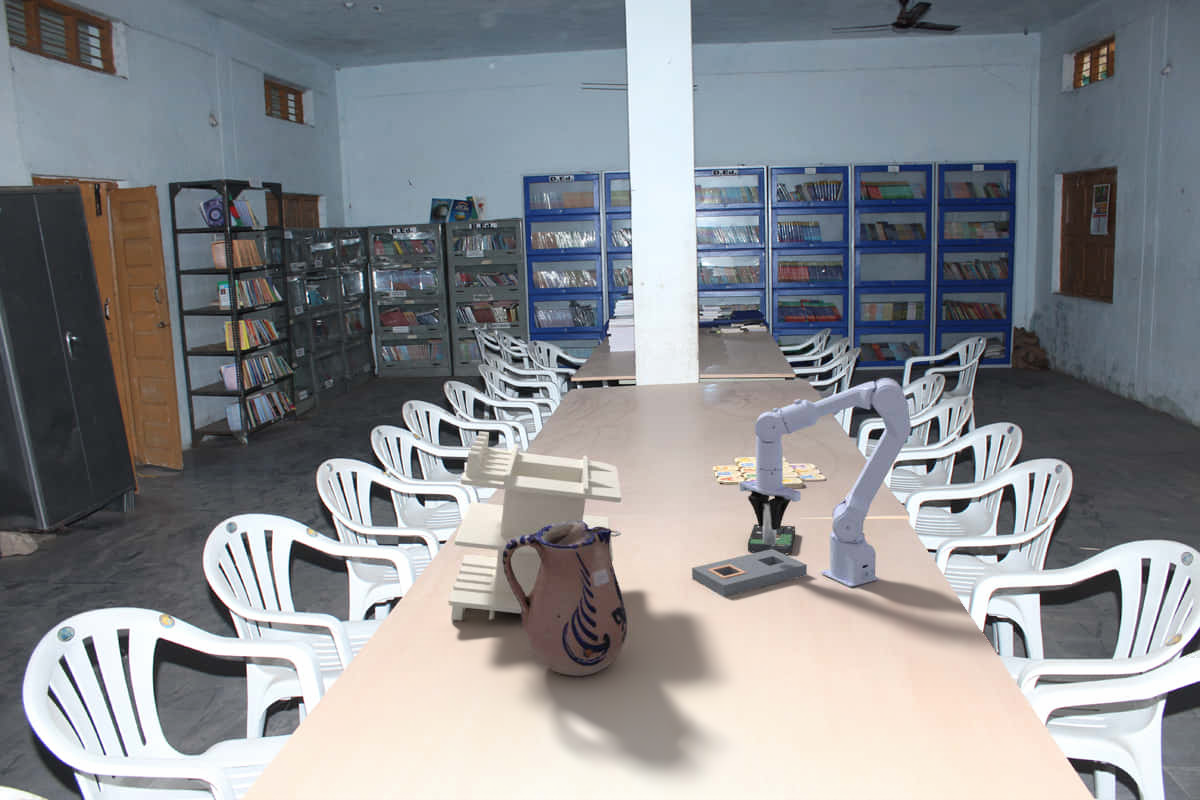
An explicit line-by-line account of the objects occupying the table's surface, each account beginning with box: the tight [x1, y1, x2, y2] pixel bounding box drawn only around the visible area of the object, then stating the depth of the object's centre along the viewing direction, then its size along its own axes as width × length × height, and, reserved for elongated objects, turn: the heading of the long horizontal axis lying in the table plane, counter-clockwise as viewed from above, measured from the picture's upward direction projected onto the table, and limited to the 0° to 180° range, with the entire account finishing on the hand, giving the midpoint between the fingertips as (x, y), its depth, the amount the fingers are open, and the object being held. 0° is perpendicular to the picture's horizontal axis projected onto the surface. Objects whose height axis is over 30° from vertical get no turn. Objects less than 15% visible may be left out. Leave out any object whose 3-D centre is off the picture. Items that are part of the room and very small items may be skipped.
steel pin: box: [762, 500, 776, 544], centre depth 200 cm, size 3×3×9 cm
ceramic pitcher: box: [502, 521, 628, 677], centre depth 159 cm, size 18×21×25 cm
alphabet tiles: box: [712, 456, 826, 489], centre depth 282 cm, size 33×33×2 cm
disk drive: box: [747, 523, 796, 555], centre depth 221 cm, size 10×3×15 cm
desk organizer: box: [448, 431, 622, 622], centre depth 189 cm, size 26×31×35 cm
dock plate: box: [691, 549, 808, 598], centre depth 199 cm, size 12×22×3 cm, turn 117°
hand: (769, 527), depth 200 cm, fingers closed on steel pin, 3 cm apart
